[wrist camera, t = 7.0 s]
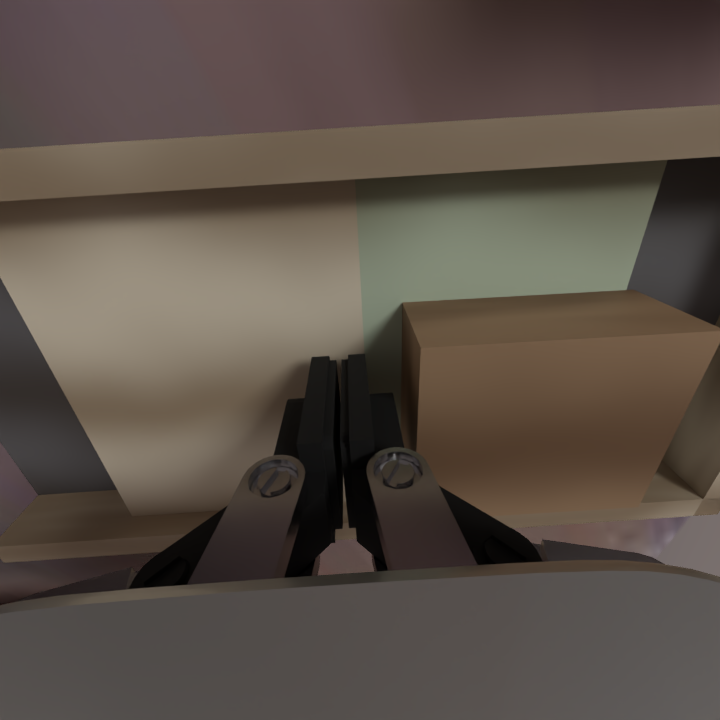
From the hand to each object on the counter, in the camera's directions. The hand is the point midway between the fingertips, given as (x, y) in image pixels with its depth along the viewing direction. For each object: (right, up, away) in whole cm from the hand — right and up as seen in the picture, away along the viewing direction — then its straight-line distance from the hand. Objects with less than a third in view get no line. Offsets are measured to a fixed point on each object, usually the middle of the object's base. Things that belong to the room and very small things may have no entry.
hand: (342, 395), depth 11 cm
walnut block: (+5, 0, +1) cm, 6 cm away
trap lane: (0, +2, +3) cm, 3 cm away
